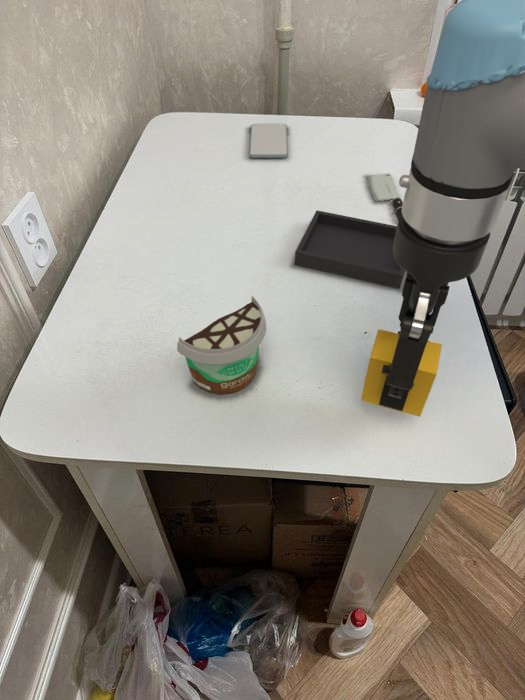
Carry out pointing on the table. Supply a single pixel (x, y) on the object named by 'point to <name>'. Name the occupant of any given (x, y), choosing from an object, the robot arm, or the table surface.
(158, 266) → the table surface
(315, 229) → the black shallow rectangular tray
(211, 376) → the food container
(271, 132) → the rounded grey tile
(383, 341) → the yellow block
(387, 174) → the cleaver
